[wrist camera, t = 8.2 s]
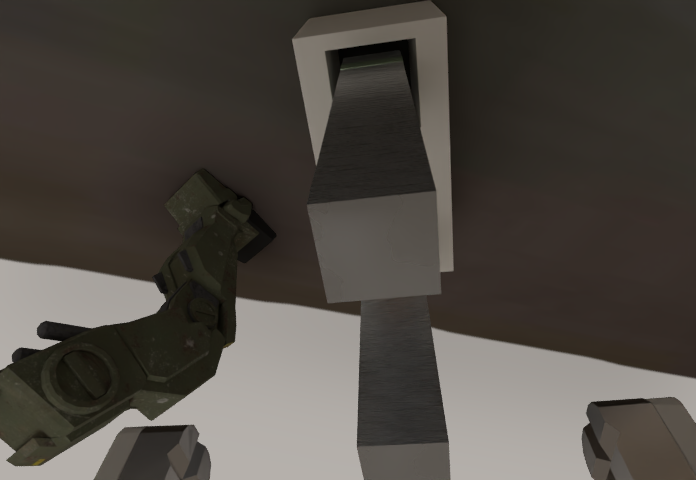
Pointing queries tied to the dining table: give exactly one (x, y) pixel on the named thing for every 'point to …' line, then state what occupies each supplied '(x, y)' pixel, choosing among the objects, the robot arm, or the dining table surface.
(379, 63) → the column
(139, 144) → the dining table surface
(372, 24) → the frame
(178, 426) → the robot arm
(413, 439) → the column
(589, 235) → the dining table surface
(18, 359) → the mechanical leg
